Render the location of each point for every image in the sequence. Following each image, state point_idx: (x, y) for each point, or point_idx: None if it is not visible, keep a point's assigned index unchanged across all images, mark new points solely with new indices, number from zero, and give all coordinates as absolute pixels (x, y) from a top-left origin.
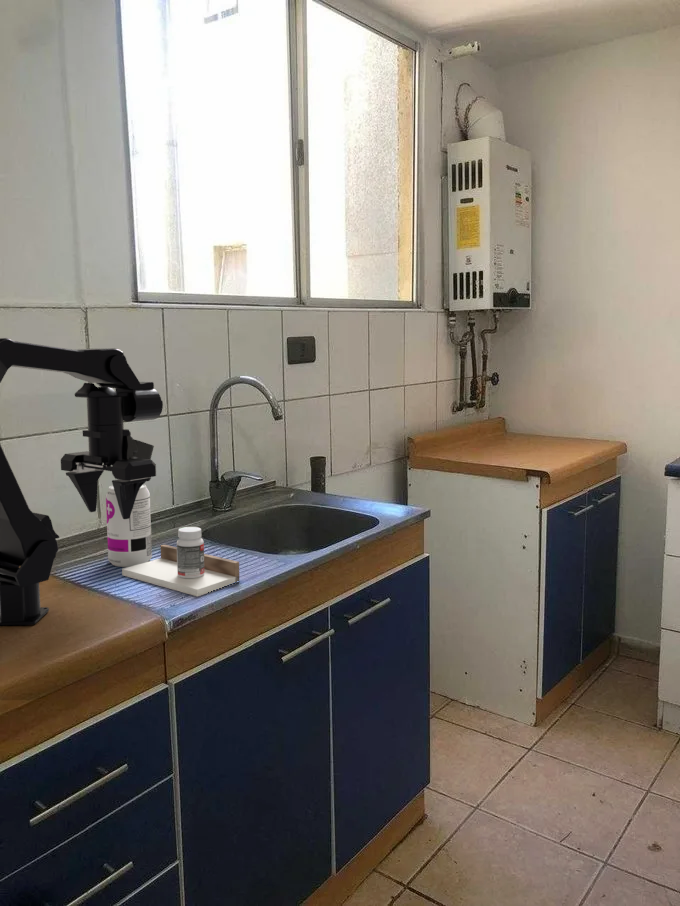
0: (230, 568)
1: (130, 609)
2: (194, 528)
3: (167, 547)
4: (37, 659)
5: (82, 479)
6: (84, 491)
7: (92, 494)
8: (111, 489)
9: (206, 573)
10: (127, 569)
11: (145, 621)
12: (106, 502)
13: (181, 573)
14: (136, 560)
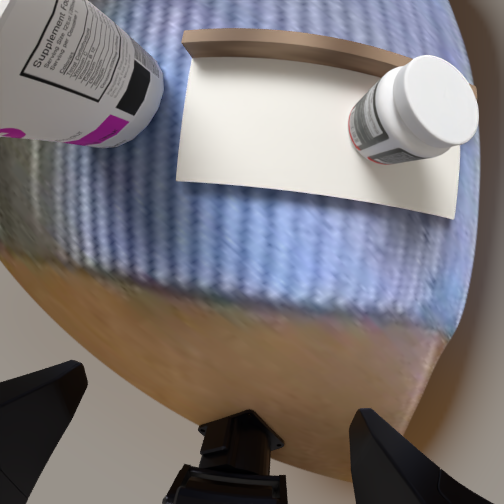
0: None
1: (376, 341)
2: (447, 79)
3: (213, 40)
4: None
5: (3, 501)
6: (36, 465)
7: (32, 423)
8: None
9: None
10: (192, 176)
11: (426, 359)
12: None
13: (384, 163)
14: (153, 110)
